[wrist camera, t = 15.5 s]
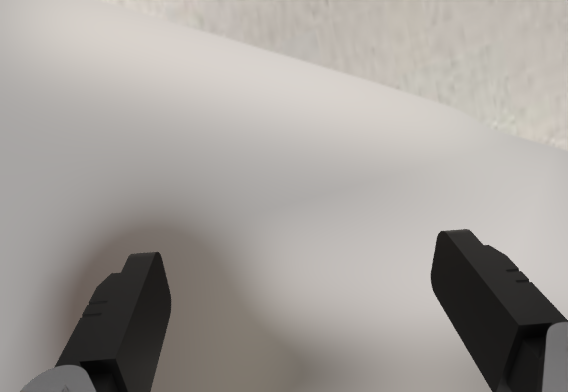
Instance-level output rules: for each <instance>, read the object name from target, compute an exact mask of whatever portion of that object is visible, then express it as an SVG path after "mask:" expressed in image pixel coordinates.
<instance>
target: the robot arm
mask: <svg viewBox="0 0 568 392" xmlns="http://www.w3.org/2000/svg"><path fill="white" fill-rule="evenodd" d="M431 284H432V288H433V291H434V293H435V295H436V297H437V299H438V300H439V302H440V304H441V306H442V307H443V309H444V311H445V312H446V314H447V316H448V317H449V319H450V321H451V322H452V324H453V326H454V328H455V329H456V331H457V332H458V334H459V336H460V338H461V339H462V341H463V343H464V345H465V346H466V348H467V350H468V351H469V353H470V355H471V356H472V358H473V360H474V361H475V363H476V365H477V366H478V368H479V370H480V371H481V373H482V375H483V376H484V378H485V380H486V382H487V383H488V385H489V387H490V388H491V390H492V392H568V320H567V319H566V318H565V317H564V316H563V315H562V314H561V313H560V312H559V311H558V310H557V309H556V308H555V307H554V305H553V304H552V303H550V301H549V300H548V299H547V298H546V297H545V296H544V295H543V294H542V293H541V292H540V291H539V290H538V288H537V287H535V285H534V284H533V283H532V282H529V279H528V278H527V277H526V276H525V275H524V274H523V273H522V272H521V271H519V269H518V267H517V266H516V265H515V264H514V263H513V262H512V261H511V260H510V259H509V258H508V257H507V256H506V255H505V254H503V253H501V252H499V251H498V250H496V249H494V248H493V247H491V246H489V245H483V244H482V243H481V242H480V241H479V240H478V239H477V237H476V236H475V235H474V234H473V233H472V232H471V231H470V230H467V229H464V230H451V231H441V232H440V233H439V234H438V236H437V241H436V247H435V253H434V258H433V264H432V270H431ZM170 313H171V294H170V290H169V286H168V282H167V278H166V273H165V270H164V266H163V261H162V258H161V255H160V253H159V252H152V253H137V254H131V255H130V256H129V257H128V259H127V261H126V263H125V265H124V268H123V270H122V272H121V273H112V274H110V275H109V276H108V277H107V278H106V279H105V280H104V281H103V282H102V283H101V284H100V285H99V286H98V287H97V288H96V290H95V292H94V294H93V295H92V297H91V299H90V301H89V305H87V307H86V309H85V311H84V312H83V317H82V318H80V320H79V322H78V324H77V326H76V328H75V330H74V331H73V333H72V335H71V337H70V339H69V341H68V343H67V345H66V346H65V348H64V350H63V352H62V354H61V356H60V358H59V360H58V362H57V364H56V365H55V367H54V368H52V369H49V370H47V371H45V372H43V373H41V374H40V375H38V376H37V377H35V378H34V379H32V380H31V381H30V382H29V383H28V384H27V385H26V386H25V387H24V388H23V389H22V390H21V391H20V392H150V391H151V387H152V383H153V379H154V376H155V372H156V368H157V364H158V360H159V356H160V352H161V349H162V344H163V340H164V337H165V333H166V329H167V325H168V322H169V318H170Z"/></svg>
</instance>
